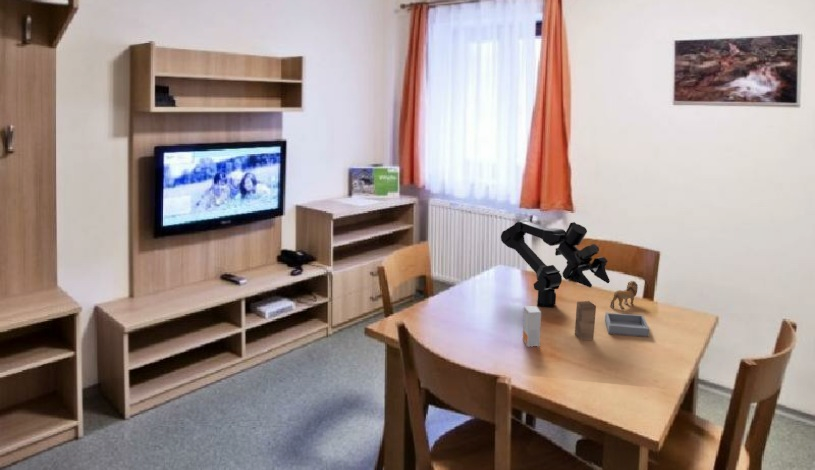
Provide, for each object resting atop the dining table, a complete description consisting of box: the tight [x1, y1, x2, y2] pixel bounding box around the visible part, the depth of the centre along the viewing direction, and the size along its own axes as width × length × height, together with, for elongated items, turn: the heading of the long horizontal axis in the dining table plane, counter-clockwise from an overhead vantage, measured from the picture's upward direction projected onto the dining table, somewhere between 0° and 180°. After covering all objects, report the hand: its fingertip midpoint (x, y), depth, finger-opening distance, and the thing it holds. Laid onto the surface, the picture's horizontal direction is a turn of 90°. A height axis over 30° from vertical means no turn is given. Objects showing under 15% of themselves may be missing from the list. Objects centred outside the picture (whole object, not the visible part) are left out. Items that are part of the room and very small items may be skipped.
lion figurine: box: [609, 280, 639, 309], centre depth 239 cm, size 15×5×9 cm, turn 130°
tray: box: [604, 312, 650, 338], centre depth 216 cm, size 13×13×3 cm
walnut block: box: [574, 300, 597, 342], centre depth 207 cm, size 5×4×12 cm
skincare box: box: [522, 305, 542, 348], centre depth 202 cm, size 6×4×12 cm
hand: (600, 284), depth 217 cm, fingers open, 9 cm apart
